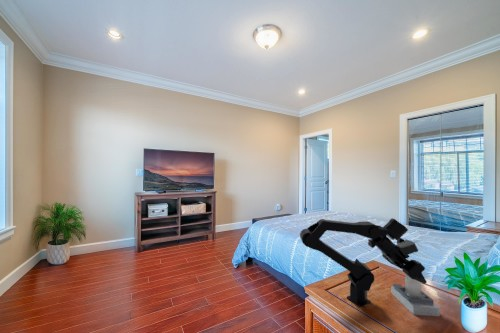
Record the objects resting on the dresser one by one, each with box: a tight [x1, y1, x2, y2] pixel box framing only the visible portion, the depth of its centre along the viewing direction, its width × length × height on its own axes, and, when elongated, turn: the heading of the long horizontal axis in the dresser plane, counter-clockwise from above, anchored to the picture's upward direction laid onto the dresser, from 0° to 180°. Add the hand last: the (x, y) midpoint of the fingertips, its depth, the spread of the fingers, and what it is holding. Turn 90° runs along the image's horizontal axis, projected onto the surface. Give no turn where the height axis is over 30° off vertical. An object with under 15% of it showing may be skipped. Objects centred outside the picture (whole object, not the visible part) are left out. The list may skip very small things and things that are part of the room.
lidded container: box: [404, 258, 422, 298], centre depth 84 cm, size 5×5×13 cm
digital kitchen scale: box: [390, 283, 441, 317], centre depth 84 cm, size 9×14×4 cm, turn 175°
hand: (417, 276), depth 84 cm, fingers open, 9 cm apart
